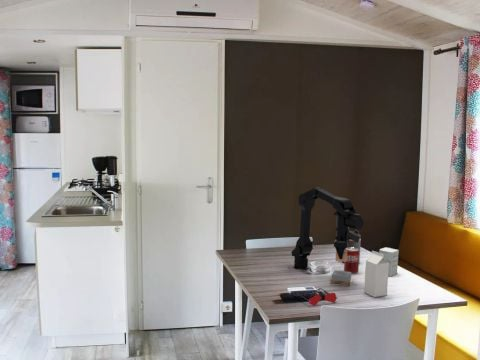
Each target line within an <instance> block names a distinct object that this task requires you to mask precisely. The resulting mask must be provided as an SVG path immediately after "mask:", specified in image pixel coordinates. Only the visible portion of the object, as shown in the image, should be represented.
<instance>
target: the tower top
mask: <svg viewBox="0 0 480 360" xmlns="http://www.w3.org/2000/svg"><path fill="white" fill-rule="evenodd" d="M331 277H332V279H330V281H331V280H336V281H344V282H349V280H350V278H351V279H352V274H351V272H346V271H344V270H337V269H334V270H333V271H332V273H331Z"/></svg>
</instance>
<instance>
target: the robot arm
mask: <svg viewBox="0 0 480 360" xmlns="http://www.w3.org/2000/svg"><path fill="white" fill-rule="evenodd" d="M297 199H298V206H299V208H300V210H301V211H300V227H299V237H298V239H297V240H296V243H295V248H293V249H292V251H291V256H292V257H294V258H293V259H294V260H293V261H294V262H293V264H294V265H293V268H294V269H297V270H298V269H299V270H300V269H301V270H307V268H308V267H309V258H308V256H311V253H312V251H313V250H314V241H312V240H311V238H310V230H311V217H312V211H313V209H314V206H315V203H316V201H317V200H318V199H320V200H322V201H324V202H326V203H327V204H330V206H332V208H333V209H334V210H335V211H334V213H333V216H336V225H335V226H336V228H335V232H336V233H335V240H334V242H333V247H334V248H335V252H336V251H337V253H338V256H339V259H342V257H343V253H344V250H345V249H346V248H347V247H348V243H349V241H347V240H353V241H355V242H356V243H358V242H359V239H361V237H362V235H361V234H360V233H359V230H361V229H362V228H363V227H364V222H365V221H364V219H363V217H362V214H359V213H357V211H356V210H355V208H354V205H353V203H352V201H351V199H349V198H345V197H341V196H340V197H339V196H336V195H335V194H332V193H331V192H330V191H326V190H325V189H323V188H322V187H313V188H311V189H310V190H308V191H306V192H303V193H300V195H298V198H297ZM350 229H354V231H352V230H350Z"/></svg>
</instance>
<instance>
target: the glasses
mask: <svg viewBox="0 0 480 360" xmlns="http://www.w3.org/2000/svg"><path fill="white" fill-rule="evenodd" d="M317 290H318V291H320V290H322V291H323V292H325V293H324V298H323V296H321V295H323V293H320V294H313V295H311V296H310V297H309V298H306V297H305V296H303V295H302V294H300V293H299V292H297V293H296V294H297V295H298V294H299V295H298V296H300V297H301V298H303V299H304V300H306V301H307V302H308V304H310V305H311V306H313V307H314V305H315V306H317V304H318V303H320V302H321V300H322V298H323V300H324V301H326V302H328V303H335V302H336V300H338V297H337V295H336V292H329V291H327V290H325V289H323V288H318V289H317Z"/></svg>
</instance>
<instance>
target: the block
mask: <svg viewBox="0 0 480 360" xmlns="http://www.w3.org/2000/svg"><path fill="white" fill-rule="evenodd" d="M341 261H343V262H346V261H347V251H344V253H343V257H342V259H339V256H338V253H337V251H336V250H335V262H341Z"/></svg>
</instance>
